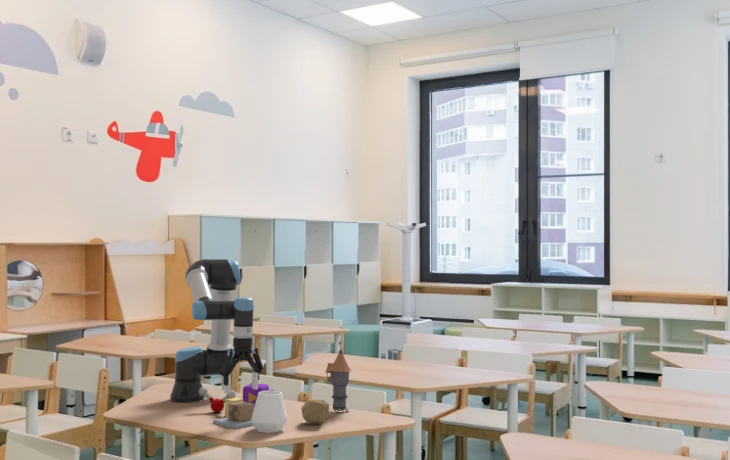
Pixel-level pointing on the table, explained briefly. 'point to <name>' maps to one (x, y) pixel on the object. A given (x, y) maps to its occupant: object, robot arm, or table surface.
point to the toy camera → (253, 392)
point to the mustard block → (229, 401)
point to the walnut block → (240, 411)
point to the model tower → (339, 381)
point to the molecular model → (216, 404)
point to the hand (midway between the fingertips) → (241, 391)
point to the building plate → (232, 423)
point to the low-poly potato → (314, 411)
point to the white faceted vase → (269, 412)
